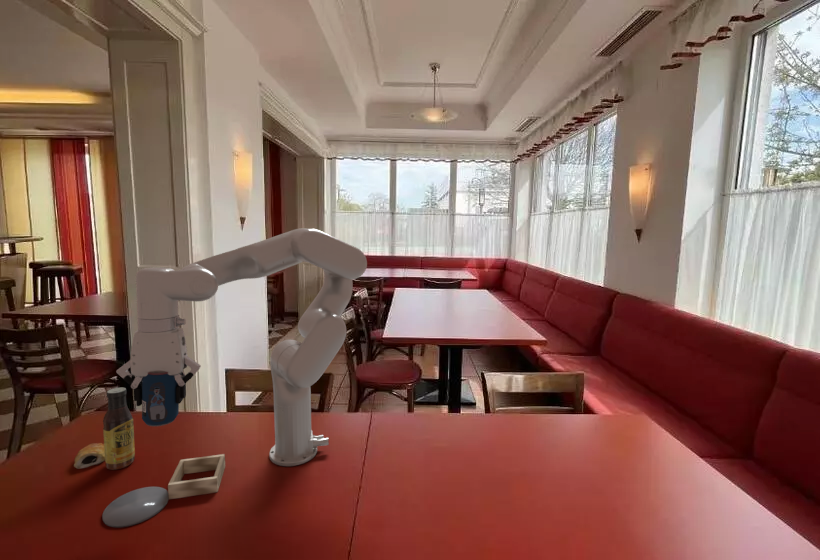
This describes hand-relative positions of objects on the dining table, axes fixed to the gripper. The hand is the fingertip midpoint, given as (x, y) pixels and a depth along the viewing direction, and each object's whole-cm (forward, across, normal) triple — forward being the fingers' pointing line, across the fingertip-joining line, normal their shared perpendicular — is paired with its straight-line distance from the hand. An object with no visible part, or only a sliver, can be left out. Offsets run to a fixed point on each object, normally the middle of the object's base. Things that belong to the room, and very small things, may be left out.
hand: (160, 401), depth 88 cm
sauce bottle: (+23, +14, -16) cm, 32 cm away
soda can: (+5, 0, 0) cm, 5 cm away
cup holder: (+22, -7, -3) cm, 23 cm away
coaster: (+23, +4, +3) cm, 23 cm away
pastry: (+23, +23, -20) cm, 39 cm away
